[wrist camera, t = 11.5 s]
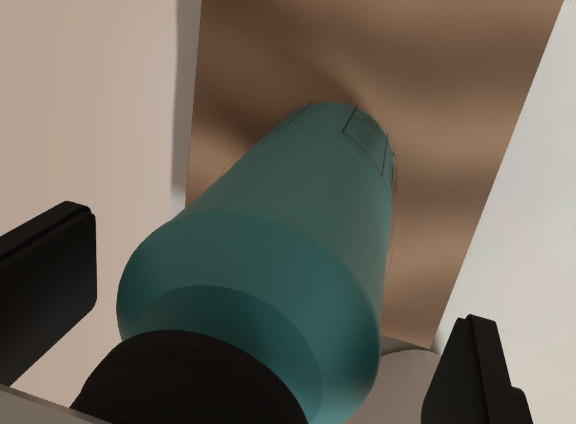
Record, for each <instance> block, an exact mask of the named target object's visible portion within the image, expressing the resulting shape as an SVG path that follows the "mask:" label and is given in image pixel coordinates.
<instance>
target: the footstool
mask: <svg viewBox="0 0 576 424" xmlns="http://www.w3.org/2000/svg"><path fill="white" fill-rule="evenodd" d="M563 1H564V0H202V8H201V20H200V32H199V44H198V57H197V69H196V81H195V93H194V105H193V117H192V129H191V142H190V154H189V166H188V178H187V190H186V202H185V208H186V207H187V206H188V205H189V204H190V203H192V202H193V201H194V200H195V199H196V198H197V197H198V196H200V195H201V194H202V193H203V192H204V191H205V190H206V189H207V188H209V187H210V186H211V185H212V184H213V183H214V182H215V181H217V179H219V178H220V177H221V176H222V175H223V174H225V173H226V172H227V171H228V170H229V169H230V168H231V167H232V166H233V164H235V163H236V162H237V161H238V160H239V159H240V158H241V157H242V156H243V155H244V154H245V153H246V152H248V151H249V150H250V149H251V148H252V147H253V146H254V145H256V144H257V143H258V142H259V141H260V140H261V139H262V138H263V137H264V136H266V135H267V133H268V132H270V131H271V129H272V130H273V129H274V128H275V125H276V126H277V125H278V124H279V123H281V122H282V120H284V119H285V118H286V117H287V115H288V116H289V115H290V114H291V113H293V112H294V110H295V111H296V109H297V108H298V109H299V108H301V106H302V105H303V106H302V107H304V106H307V105H309V104H310V103H311V102H312V101H313V102H312V103H311V104H314V103H318V102H338V103H344V104H347V105H351V106H353V107H356V106H359V107H357V108H358V109H360V110H362V111H363V112H365V113H366V114H367V113H368V112H369V113H368V115H370V116H371V117H373V119H374V120H376V121H377V123H379V124H380V125H381V124H382V125H383V126H382V125H381V126H380V127H381V128H382V130H383V131H384V133H385V134H386V136H387V134H389V135H388V140H389V143H390V145H391V149H392V152H393V151H394V155H395V154H396V156H395V157H394V156H393V160H394V167H395V170H396V171H397V184H396V181H395V180H396V172H395V170H394V171H393V173H394V176H393V187H394V188H393V187H392V205H391V220H390V229H391V230H390V233H391V234H393V235H390V236H389V245H388V249H389V248H390V249H389V251H388V254H387V259H386V267H385V277H386V278H384V280H385V281H384V289H383V300H382V311H381V322H380V328H381V335H383V336H387V337H390V338H393V339H397V340H400V341H404V342H407V343H411V344H414V345H418V346H421V347H424V348H428V349H430V347H431V344H432V342H433V339H434V337H435V334H436V331H437V329H438V326H439V324H440V321H441V318H442V316H443V313H444V311H445V308H446V305H447V303H448V300H449V298H450V295H451V292H452V290H453V287H454V285H455V282H456V279H457V277H458V274H459V272H460V269H461V266H462V264H463V261H464V259H465V256H466V253H467V251H468V248H469V246H470V243H471V240H472V238H473V235H474V233H475V230H476V227H477V225H478V222H479V220H480V217H481V214H482V212H483V209H484V207H485V204H486V201H487V199H488V196H489V194H490V191H491V188H492V186H493V183H494V180H495V178H496V175H497V173H498V170H499V167H500V165H501V162H502V160H503V157H504V154H505V152H506V149H507V147H508V144H509V141H510V139H511V136H512V134H513V131H514V128H515V126H516V123H517V121H518V118H519V115H520V113H521V110H522V108H523V105H524V102H525V100H526V97H527V95H528V92H529V89H530V87H531V84H532V82H533V79H534V76H535V74H536V71H537V69H538V66H539V63H540V61H541V58H542V56H543V53H544V50H545V48H546V45H547V43H548V40H549V37H550V35H551V32H552V30H553V27H554V24H555V22H556V19H557V17H558V14H559V11H560V9H561V6H562V4H563ZM309 101H310V102H309ZM303 103H304V104H303ZM300 105H301V106H300ZM296 106H297V107H296ZM299 106H300V107H299ZM360 107H361V108H360ZM362 108H363V109H362ZM293 109H294V110H293ZM298 109H297V110H298ZM292 110H293V111H292ZM365 110H366V111H365ZM291 111H292V112H291ZM367 111H368V112H367ZM289 113H290V114H289ZM283 115H284V116H283ZM372 115H373V116H372ZM285 116H286V117H285ZM283 117H284V118H283ZM280 118H281V119H280ZM277 120H278V122H279V123H278V122H277ZM275 122H277V123H278V124H277V123H275ZM274 124H275V125H274ZM379 124H378V125H379ZM270 126H271V127H270ZM268 128H269V129H268ZM385 129H386V130H385ZM267 130H269V131H268V132H264V131H267ZM387 132H388V133H387ZM262 133H263V134H262ZM260 135H261V136H260ZM263 135H264V136H263ZM255 139H257V140H255ZM253 141H254V142H253ZM392 142H393V143H392ZM249 144H250V145H249ZM393 148H394V149H393ZM242 150H243V151H242ZM247 150H248V151H247ZM237 154H238V155H237ZM236 155H237V156H236ZM396 157H397V158H396ZM232 159H233V160H232ZM396 161H397V162H396ZM396 165H397V166H396ZM225 167H226V168H225ZM223 170H224V171H223ZM221 173H222V174H221ZM220 174H221V175H220ZM218 177H219V178H218ZM394 178H395V179H394ZM395 185H396V189H395ZM394 189H395V190H394ZM393 193H394V194H393ZM395 196H396V197H395ZM395 201H396V203H395ZM394 204H396V205H394ZM392 208H393V209H392ZM393 215H395V216H394V217H393ZM393 220H394V221H393ZM394 222H395V223H394ZM393 224H395V225H393ZM392 227H393V228H392ZM393 230H394V232H393ZM390 237H391V238H390ZM392 239H393V240H392ZM390 240H391V241H392V243H391V241H390ZM390 245H391V246H390ZM392 253H393V254H392ZM391 258H392V259H391ZM390 262H391V263H390ZM389 265H390V266H389ZM388 269H389V270H388ZM387 272H388V273H387ZM386 275H387V276H386Z"/></svg>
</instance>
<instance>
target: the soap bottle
mask: <svg viewBox="0 0 576 424" xmlns="http://www.w3.org/2000/svg"><path fill="white" fill-rule="evenodd" d="M440 359H441V357H440V356H439V355H437V354H435V353H433V352H430V351H425V350H419V349H413V350H403V351H399V352H394V353H390V354H387V355H384V356H381V358H380V364H379V371H378V375H377V378H376V380H375V383H374V386H373V388H372V390H371V391H370V393H369V395H368V397H367V398H366V400H365V401H364V402H363V403H362V405H361V406H360V407H359V408H358V410H357V411H356V412H355V413H354V414H353V415H352V416H351V417H350V418H348V419H347V420H346V421H345V422H344V423H342V424H421V409H422V404H423V401H424V398H425V395H426V393H427V390H428V388H429V386H430V383H431V381H432V378H433V376H434V373H435V371H436V368H437V366H438V364H439V361H440Z"/></svg>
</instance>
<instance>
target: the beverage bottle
mask: <svg viewBox="0 0 576 424" xmlns="http://www.w3.org/2000/svg"><path fill="white" fill-rule="evenodd" d="M309 102H310V101H309ZM312 102H313V101H312ZM312 102H311V103H312ZM311 103H310V104H309V105H307V106H304V107H302V106H303V105H302V106H301V105H300V106H301V108H299V109H298V108H297V109H298V110H297V109H296V111H295V110H294V109H293V110H294V112H293V113H291V114H290V113H289V114H290V115H289V116H288V115H287V117H286V116H285V117H286V118H285V119H284V120H282V122H281V123H279V122H278V120H277V122H278V123H279V124H278V123H277V122H275V123H277V124H278V125H277V126H276V125H275V124H274V125H275V128H274V129H273V130H272V129H271V131H270V132H268V131H269V130H267V131H264V132H268V133H267V135H266V136H264V135H263V136H264V137H263V138H262V139H261V140H260V141H259V142H258V143H257V144H256V145H254V146H253V147H252V148H251V149H250V150H249V151H248V150H247V151H248V152H246V153H245V154H244V155H243V156H242V157H241V158H240V159H239V160H238V161H237V162H236V163H235V164H233V166H232V167H231V168H230V169H229V170H228V171H227V172H226V173H225V174H223V175H222V176H221V177H220V178H219V177H218V178H219V179H217V181H215V182H214V183H213V184H212V185H211V186H210V187H209V188H207V189H206V190H205V191H204V192H203V193H202V194H201V195H200V196H198V197H197V198H196V199H195V200H194V201H193V202H192V203H190V204H189V205H188V206H187V207H186V208H185V209H184V210H182V211H181V212H180V213H179V214H178V215H177V216H176V217H175V218H173V219H172V220H171V221H169V222H167V223H165V224H164V225H162V226H161V227H159V228H158V229H156V230H155V231H154V232H152V233H151V234H150V235H149V236H148V237H147V238H146V239H145V240H144V241H143V242H142V243H141V244H140V245H139V246H138V247H137V249H136V250H135V251H134V252H133V254H132V255H131V257H130V259H129V261H128V263H127V264H126V266H125V269H124V272H123V274H122V277H121V280H120V283H119V288H118V294H117V304H116V313H117V321H118V328H119V332H120V335H121V339H122V342H121V343H119V344H118V345H117V346H116V347H115V348H113V349H112V350H111V351H110V352H109V353H108V355H107V356H106V357H105V358H104V359H103V360H102V361H101V362H100V364H99V365H98V366H97V367H96V368H95V370H94V371H93V372H92V373H91V375H90V376H89V377H88V379H87V380H86V382H85V384H84V386H83V388H82V390H81V393H80V394H79V396H78V397H77V398H76V399H75V401H74V402H73V403H72V405H71V406H70V407H69V408H70V409H73V410H76V411H79V412H81V413H84V414H87V415H90V416H93V417H95V418H98V419H101V420H104V421H106V422H109V423H112V424H342V423H344V422H345V421H346V420H347V419H348V418H350V417H351V416H352V415H353V414H354V413H355V412H356V411H357V410H358V408H359V407H360V406H361V405H362V403H363V402H364V401H365V400H366V398H367V397H368V395H369V393H370V391H371V390H372V388H373V386H374V383H375V380H376V378H377V375H378V371H379V364H380V358H381V328H380V322H381V311H382V300H383V289H384V281H385V280H384V278H386V277H385V267H386V259H387V254H388V251H389V249H390V248H389V249H388V245H389V236H390V235H393V234H391V233H390V230H391V229H390V220H391V205H392V187H393V176H394V173H393V171H394V170H395V167H394V160H393V156H394V157H395V156H396V154H395V155H394V151H393V152H392V149H391V145H390V143H389V140H388V135H389V134H387V136H386V134H385V133H384V131H383V130H382V128H381V127H380V126H381V125H382V124H381V125H380V124H379V123H377V121H376V120H374V119H373V117H371V116H370V115H368V113H369V112H368V111H367V112H368V113H367V114H366V113H365V112H363V111H362V110H360V109H358V108H357V107H359V106H356V107H353V106H351V105H347V104H344V103H338V102H318V103H314V104H311ZM303 104H304V103H303ZM300 106H299V107H300ZM296 107H297V106H296ZM360 108H361V107H360ZM362 109H363V108H362ZM293 110H292V111H293ZM292 111H291V112H292ZM365 111H366V110H365ZM283 116H284V115H283ZM372 116H373V115H372ZM283 118H284V117H283ZM280 119H281V118H280ZM378 124H379V125H378ZM382 126H383V125H382ZM270 127H271V126H270ZM268 129H269V128H268ZM385 130H386V129H385ZM387 133H388V132H387ZM262 134H263V133H262ZM260 136H261V135H260ZM255 140H257V139H255ZM253 142H254V141H253ZM392 143H393V142H392ZM249 145H250V144H249ZM393 149H394V148H393ZM242 151H243V150H242ZM237 155H238V154H237ZM237 155H236V156H237ZM396 158H397V157H396ZM232 160H233V159H232ZM396 162H397V161H396ZM396 166H397V165H396ZM225 168H226V167H225ZM223 171H224V170H223ZM395 172H396V180H395V181H396V184H397V171H396V170H395ZM221 174H222V173H221ZM221 174H220V175H221ZM394 179H395V178H394ZM393 188H394V187H393ZM395 189H396V185H395ZM395 189H394V190H395ZM393 194H394V193H393ZM395 197H396V196H395ZM395 203H396V201H395ZM394 205H396V204H394ZM392 209H393V208H392ZM394 216H395V215H393V217H394ZM393 221H394V220H393ZM394 223H395V222H394ZM393 225H395V224H393ZM392 228H393V227H392ZM393 232H394V230H393ZM390 238H391V237H390ZM392 240H393V239H392ZM390 241H391V240H390ZM391 243H392V241H391ZM390 246H391V245H390ZM392 254H393V253H392ZM391 259H392V258H391ZM390 263H391V262H390ZM389 266H390V265H389ZM388 270H389V269H388ZM387 273H388V272H387ZM386 276H387V275H386Z"/></svg>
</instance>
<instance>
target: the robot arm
mask: <svg viewBox="0 0 576 424" xmlns="http://www.w3.org/2000/svg"><path fill="white" fill-rule="evenodd" d="M96 268H97V264H96V220H95V216H94V214H92V213H91V210H90V208H89V207H87V206H84V205H81V204H77V203H74V202H70V201H64V202H62V203H60V204H58V205H56V206H55V207H53V208H51V209H49V210H47V211H46V212H44V213H42V214H40V215H38V216H36V217H35V218H33V219H31V220H29V221H27V222H26V223H24V224H22V225H20V226H18V227H17V228H15V229H13V230H11V231H9V232H8V233H6V234H4V235H2V236H0V424H112V423H109V422H106V421H104V420H101V419H98V418H95V417H93V416H90V415H87V414H84V413H81V412H79V411H76V410H73V409H70V408H67V407H64V406H62V405H59V404H56V403H53V402H50V401H48V400H45V399H42V398H39V397H36V396H33V395H30V394H28V393H25V392H22V391H19V390H16V389H13V388H10V386H11V385H12V384H13V383H14V382H15V381H16V380H17V379H18V378H19V377H20V376H21V375H22V374H23V373H24V372H25V371H27V370H28V369H29V368H30V367H31V366H32V365H33V364H34V363H35V362H36V361H37V360H38V359H40V357H42V356H43V355H44V354H45V353H46V352H47V351H48V350H49V349H50V348H51V347H52V346H53V345H54V344H55V343H57V342H58V341H59V340H60V339H61V338H62V337H63V336H64V335H65V334H66V333H67V332H69V331H70V330H71V329H72V328H73V327H74V326H75V325H76V324H77V323H78V322H79V321H80V320H81V319H82V318H83V317H84V316H86V315H87V313H89V312H90V311H91V310H92V308H93V307H94V305H95V303H96V300H97V269H96ZM421 424H533V421H532V417H531V414H530V410H529V407H528V403H527V399H526V396H525V394H524V392H523V391H522V390H521V389H519V388H515V387H512V386H511V382H510V378H509V374H508V370H507V365H506V361H505V357H504V353H503V349H502V345H501V341H500V337H499V333H498V329H497V325H496V322H495V321H493V320H489V319H486V318H482V317H479V316H475V315H472V314H469V315H468V316H467V317H466V319H463V318H458V319H457V320H456V322H455V324H454V327H453V329H452V332H451V334H450V337H449V339H448V342H447V344H446V346H445V349H444V351H443V354H442V356H441V359H440V361H439V364H438V366H437V368H436V371H435V373H434V376H433V378H432V381H431V383H430V386H429V388H428V390H427V393H426V395H425V398H424V401H423V404H422V409H421Z"/></svg>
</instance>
